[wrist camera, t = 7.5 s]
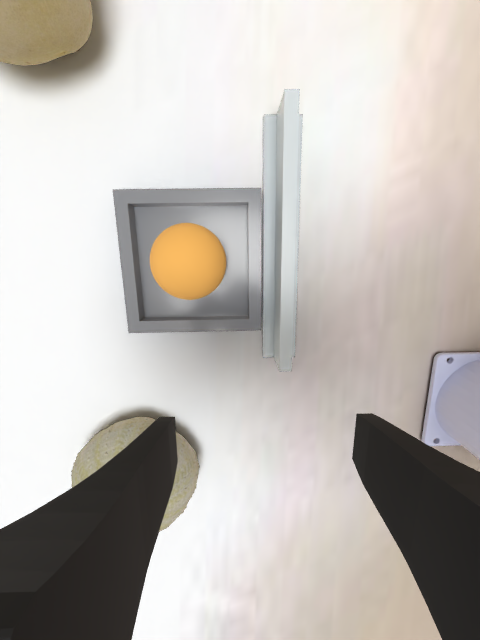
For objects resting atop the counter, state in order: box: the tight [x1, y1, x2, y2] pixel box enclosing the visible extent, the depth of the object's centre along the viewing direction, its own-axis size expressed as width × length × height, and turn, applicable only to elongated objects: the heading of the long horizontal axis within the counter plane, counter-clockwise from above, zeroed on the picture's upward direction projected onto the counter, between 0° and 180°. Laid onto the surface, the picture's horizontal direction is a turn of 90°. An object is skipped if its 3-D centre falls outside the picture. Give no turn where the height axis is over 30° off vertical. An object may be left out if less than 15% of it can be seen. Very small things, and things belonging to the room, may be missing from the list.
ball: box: [150, 223, 226, 300], centre depth 16 cm, size 4×4×4 cm
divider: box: [263, 89, 303, 371], centre depth 18 cm, size 2×16×3 cm, turn 1°
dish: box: [113, 188, 261, 333], centre depth 18 cm, size 9×9×2 cm
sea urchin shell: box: [71, 416, 199, 532], centre depth 21 cm, size 9×8×8 cm
